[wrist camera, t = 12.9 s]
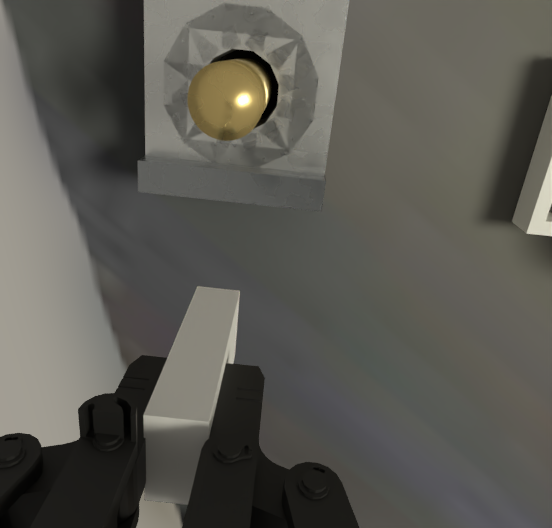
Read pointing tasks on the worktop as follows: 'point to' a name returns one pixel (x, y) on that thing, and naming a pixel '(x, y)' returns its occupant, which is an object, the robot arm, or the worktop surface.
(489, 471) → the worktop surface
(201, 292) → the robot arm
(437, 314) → the worktop surface
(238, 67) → the gold brass cylinder
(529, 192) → the cradle
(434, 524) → the worktop surface
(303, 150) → the jig
